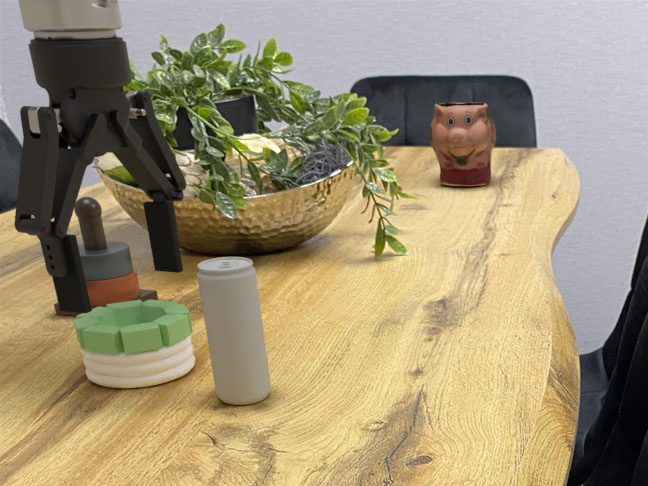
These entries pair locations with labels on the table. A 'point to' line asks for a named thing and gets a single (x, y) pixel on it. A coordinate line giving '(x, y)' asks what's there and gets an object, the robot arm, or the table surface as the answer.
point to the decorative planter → (463, 142)
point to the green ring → (132, 326)
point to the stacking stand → (105, 262)
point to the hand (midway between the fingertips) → (125, 290)
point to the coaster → (140, 366)
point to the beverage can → (234, 329)
